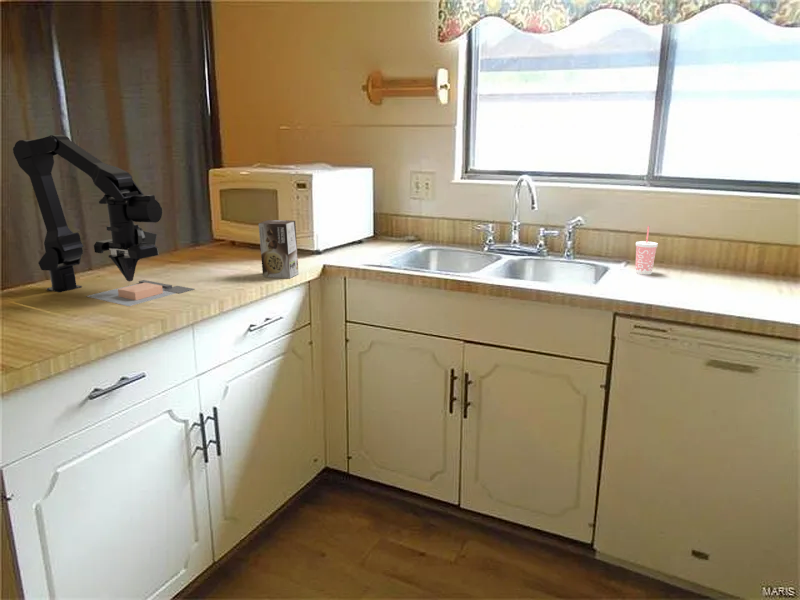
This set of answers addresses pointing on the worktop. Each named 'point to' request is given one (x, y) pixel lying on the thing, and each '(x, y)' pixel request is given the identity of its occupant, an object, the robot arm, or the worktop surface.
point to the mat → (114, 297)
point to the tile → (140, 291)
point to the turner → (169, 287)
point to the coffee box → (278, 248)
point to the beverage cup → (645, 256)
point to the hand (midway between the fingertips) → (130, 281)
